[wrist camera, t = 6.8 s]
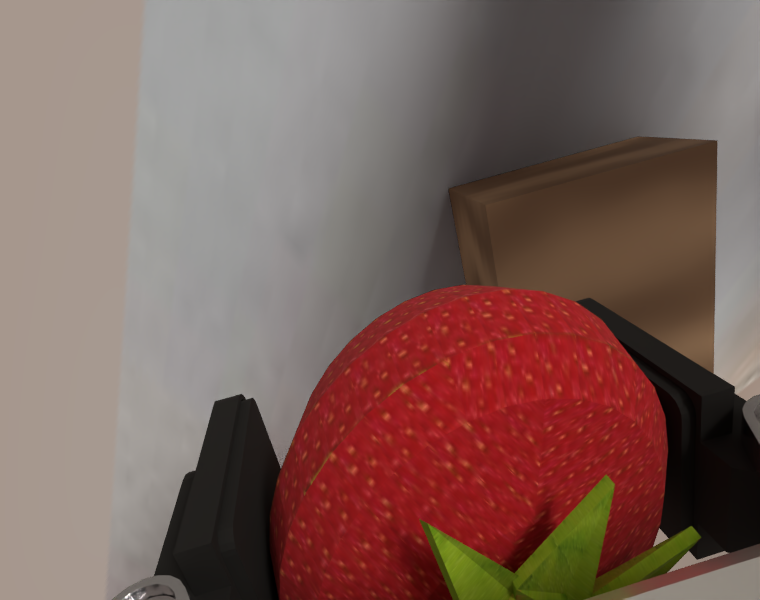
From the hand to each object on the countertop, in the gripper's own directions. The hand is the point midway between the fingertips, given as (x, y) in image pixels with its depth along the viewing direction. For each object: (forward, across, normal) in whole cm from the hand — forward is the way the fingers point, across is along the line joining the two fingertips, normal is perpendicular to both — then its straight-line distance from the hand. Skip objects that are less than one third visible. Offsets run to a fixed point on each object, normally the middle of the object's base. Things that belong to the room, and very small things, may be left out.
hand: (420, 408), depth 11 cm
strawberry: (+3, 0, 0) cm, 3 cm away
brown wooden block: (+19, -13, +7) cm, 24 cm away
